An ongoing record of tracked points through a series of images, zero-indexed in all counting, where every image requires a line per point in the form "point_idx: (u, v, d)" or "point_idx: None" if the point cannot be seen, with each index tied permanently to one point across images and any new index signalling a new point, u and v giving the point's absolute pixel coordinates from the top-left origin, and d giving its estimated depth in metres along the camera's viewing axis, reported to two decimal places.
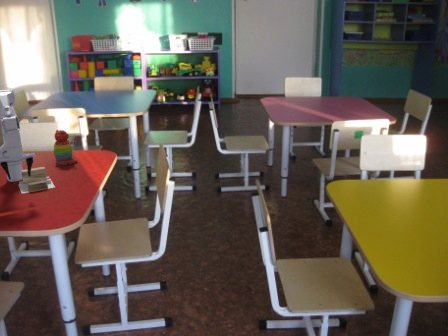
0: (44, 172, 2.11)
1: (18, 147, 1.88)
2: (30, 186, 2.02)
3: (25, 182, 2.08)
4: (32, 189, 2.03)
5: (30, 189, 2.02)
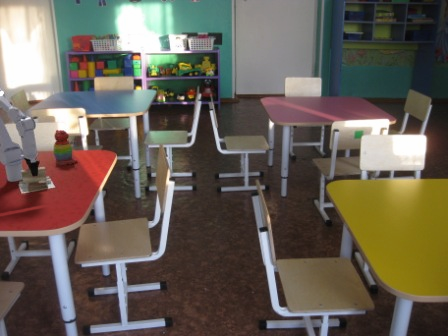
0: (44, 172, 2.11)
1: (23, 147, 2.04)
2: (30, 186, 2.02)
3: (25, 182, 2.08)
4: (32, 189, 2.03)
5: (30, 189, 2.02)
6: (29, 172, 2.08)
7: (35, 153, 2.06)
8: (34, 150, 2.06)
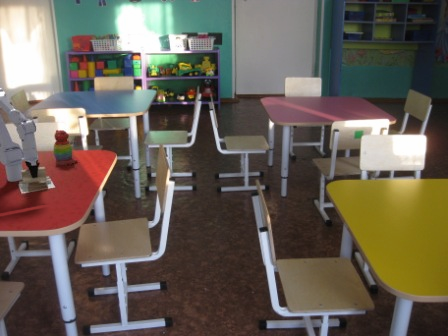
0: (44, 172, 2.11)
1: (24, 150, 2.04)
2: (30, 186, 2.02)
3: (25, 182, 2.08)
4: (32, 189, 2.03)
5: (30, 189, 2.02)
6: (29, 172, 2.08)
7: (35, 156, 2.07)
8: (34, 153, 2.06)
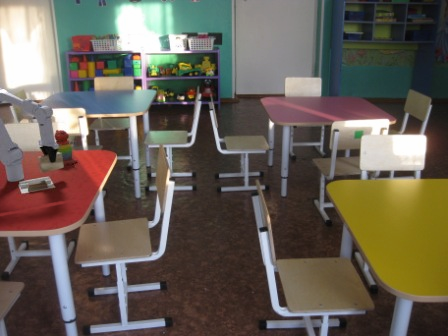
0: (61, 157, 2.14)
1: (43, 135, 2.06)
2: (30, 186, 2.02)
3: (44, 168, 2.09)
4: (32, 189, 2.03)
5: (30, 189, 2.02)
6: (48, 157, 2.10)
7: (54, 140, 2.10)
8: (53, 137, 2.09)
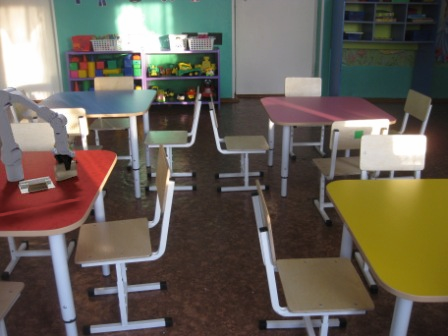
0: (75, 165, 2.19)
1: (59, 143, 2.10)
2: (30, 186, 2.02)
3: (60, 176, 2.13)
4: (32, 189, 2.03)
5: (30, 189, 2.02)
6: (63, 166, 2.14)
7: None
8: (68, 146, 2.13)
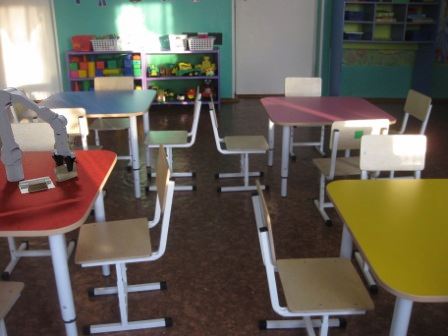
0: (75, 167, 2.19)
1: (59, 144, 2.10)
2: (30, 186, 2.02)
3: (61, 178, 2.14)
4: (32, 189, 2.03)
5: (30, 189, 2.02)
6: (64, 168, 2.14)
7: None
8: (68, 146, 2.14)
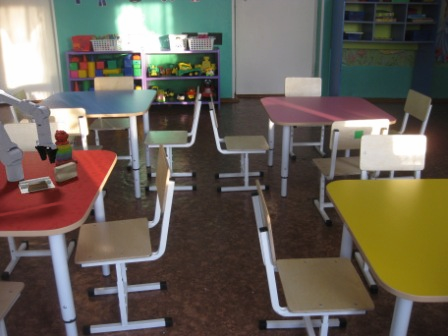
0: (75, 167, 2.19)
1: (40, 135, 2.06)
2: (30, 186, 2.02)
3: (61, 178, 2.14)
4: (32, 189, 2.03)
5: (30, 189, 2.02)
6: (64, 168, 2.14)
7: (51, 141, 2.10)
8: (50, 138, 2.09)
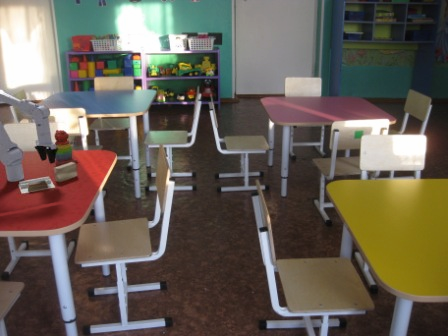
0: (75, 167, 2.19)
1: (40, 135, 2.06)
2: (30, 186, 2.02)
3: (61, 178, 2.14)
4: (32, 189, 2.03)
5: (30, 189, 2.02)
6: (64, 168, 2.14)
7: (51, 140, 2.10)
8: (50, 137, 2.09)
